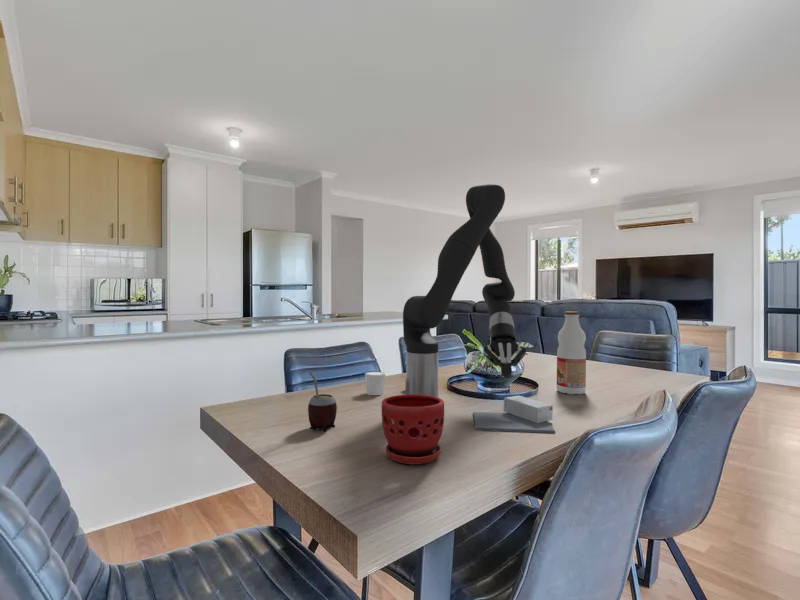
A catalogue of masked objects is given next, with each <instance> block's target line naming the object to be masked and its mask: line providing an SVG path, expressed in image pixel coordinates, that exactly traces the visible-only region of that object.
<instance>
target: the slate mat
mask: <svg viewBox="0 0 800 600" xmlns="http://www.w3.org/2000/svg"><path fill="white" fill-rule="evenodd" d="M472 415H473V421H474V423H475V424H474V426H475V430H476V431H492V430H499V431H500V432H520V433H521V432H523V433H545V434H547V433H548V434H556V430H555V429H554V428H553V426H552V425H551V424H550V422H549V421H545V422H541V423H535V422H532V421H529V420H526V419H523V418H520V417H518V416H515V415H512V414H509V413H506V412H481V411H472ZM499 431H498V432H499Z"/></svg>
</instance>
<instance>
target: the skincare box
mask: <svg viewBox="0 0 800 600" xmlns="http://www.w3.org/2000/svg"><path fill="white" fill-rule="evenodd" d="M553 408H554V407H553V404H549V403H546V402H543V401H539V400H537V399H533V398H530V397H529V398H528V397H526V396H522V395H515V396H514V395H513V396H507V397H504V398H503V413H509V414H512V415H515V416H518V417H520V418H523V419H526V420H529V421H532V422H535V423H541V422H545V421H548V422H549V421H553Z"/></svg>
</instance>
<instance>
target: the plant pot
mask: <svg viewBox="0 0 800 600" xmlns="http://www.w3.org/2000/svg"><path fill="white" fill-rule="evenodd" d="M381 421H382V422H381V423H382V428H383V430H382V431H383V433H384V437H385V439H386V442H387V445H386V446H385V453H386V455H387V456H388V457H389V458H390V459H392V460H393V461H395V462H398V463H401V464H406V465H421V464H423V463H425V464H424V465H427V464H428V463H431V462H433V461H435V460H436V459H437V458H438V457H439V456H440V455H441V453H442V446H441V445H440V444H439V441H440V440H441V438H442V434H443V431H444V426H445V425H444V423H445V401H444V400H443V399H442V398H440V397H439V396H438V397H434V396H428V395H405V394H399V395H392V396H389V397H385V398H384V399H383V400H382V401H381ZM426 463H427V464H426Z"/></svg>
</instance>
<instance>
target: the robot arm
mask: <svg viewBox="0 0 800 600" xmlns="http://www.w3.org/2000/svg"><path fill="white" fill-rule="evenodd" d="M505 201H506V192H505V189H504V187H502V185H500V184H497V183H488V184H480V185H474V186H471V187H470V188H469V189H468V191H467V192H466V195H465V204H466V209H467V213H468V215H469V219H468V220H467V221H466V222H465V223H463V224H461V226H459V227H458V228H457V229H456V230H455V231H453V232H452V234H450V236H449V237H448V238H447V240H446V242H445V244H444V245H443V247H442V248H441V251H440V252H439V255H438V259H437V274H436V277H435V280H434V282H433V284H432V285H431V287H430V289H429V291H428V292H427V293H426V295H414V296H411V297H409V298H408V299H406V300H407V301H406V302H405V303H404V306H403V310H402V324H403V325H402V326H403V328H402V329H403V340H404V343H405V346H406V348H405V349H406V357H405V358H406V359H405V360H406V362H405V364H406V367H405V368H406V371H405V373H406V378H405V379H404V380H405V385H404V387H405V388H404V389H405V390H404V392H405V393H404V395H428V396H434V397H438V398H439V343H438V341H437V340H436V339H435V338H434V337H433V336H432V333H431V329H435V328H436V327H438V326H439V325H440V324H441V323H442V321H443V320H444V318H445V316H446V315H447V314H446V313H447V312H448V309H449V306H450V304H451V301H452V299H453V296H454V294H455V292H456V290H457V288H458V286H459V284H460V282H461V280H462V279H463V278H462V277H463V276H464V273H465V272H466V271H467V269H468V267H469V265H470V264H471V261H472V260H473V257H474V256H475V254H476V252H477V250H478V248H479V250H480V255H481V261H482V267H483V273H484V276H485V277H486V278H489V279H490V278H492V279H498V280H500V281H496V282H490V283H486V284H485V285H484V286H483V288H482V290H481V291H482V292H481V293H482V298H483V300H484V302H485V303H486V305H487V307H488V312H489V336H490V343H489V346H488V347H487V346H484V347H483V352H482V355H483V356H484V357H485V358H486V359H487V360H488V361H489V362H490V363H491V364H492V365H493V366H495V367H500V374H501V377H503V379H510V377H512V373H513V371H512V367H517V365H518V364H519V363H520V361H522V360H523V359H524V357H526V352H527V349H526V348H525V347H522V348H521V347H520V346H519V343H518V342H517V339H516V337H517V336H516V330H515V322H514V319H513V313H512V307H511V305H510V303H509V302H511V301H513V300H514V298H515V297H516V296H515V294H516V293H515V289H514V286H513V283H512V282H511V281H512V280H511V279H510V278H509V275H508V273H507V268H506V264H505V256H504V251H503V248H502V246H501V244H500V242H499V241H498V238H496V236H495V235H494V233H493V232H492V230H491V226H492V224H494V221H495V220H496V218H497V217H498V215H499V214H500V212H501V211H502V209H503V207H504V205H505V203H506V202H505ZM515 354H516V355H515ZM514 355H515V356H514ZM513 356H514V357H513ZM512 357H513V358H512Z"/></svg>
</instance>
